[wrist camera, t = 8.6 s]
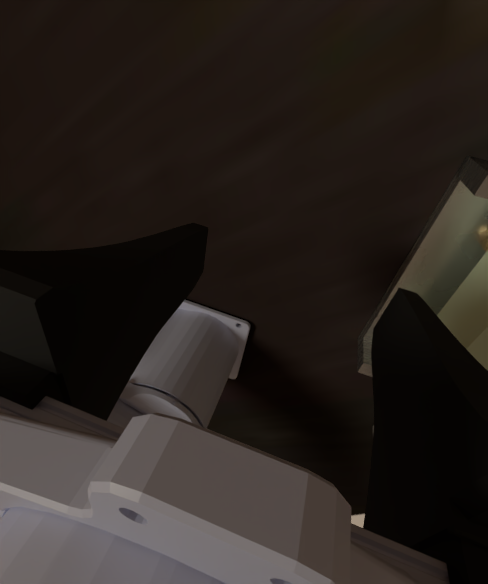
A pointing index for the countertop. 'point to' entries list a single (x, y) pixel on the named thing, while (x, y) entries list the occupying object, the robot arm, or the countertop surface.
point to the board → (470, 312)
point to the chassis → (441, 249)
